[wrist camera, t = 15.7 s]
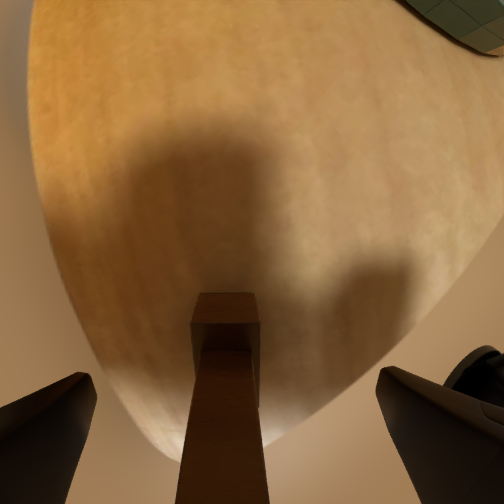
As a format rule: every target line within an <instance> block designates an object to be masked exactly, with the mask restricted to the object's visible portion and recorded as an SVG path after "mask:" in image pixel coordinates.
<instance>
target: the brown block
mask: <svg viewBox="0 0 504 504" xmlns="http://www.w3.org/2000/svg"><path fill="white" fill-rule="evenodd" d="M190 329H191V340H192V351H193V360H194V370H195V378H196V379H195V384H194V389H193V395H192V400H191V406H190V412H189V417H188V423H187V429H186V435H185V441H184V447H183V453H182V459H181V466H180V473H179V479H178V486H177V493H176V499H175V504H270V502H269V494H268V486H267V478H266V470H265V461H264V453H263V445H262V437H261V428H260V420H259V411H258V408H259V384H260V317H259V312H258V307H257V302H256V297H255V293H200V294H199V297H198V300H197V303H196V306H195V309H194V312H193V315H192V318H191V321H190Z"/></svg>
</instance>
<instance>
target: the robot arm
mask: <svg viewBox="0 0 504 504" xmlns="http://www.w3.org/2000/svg"><path fill="white" fill-rule="evenodd" d="M376 397H377V399H378V402H379V405H380V408H381V411H382V414H383V416H384V420H385V422H386V426H387V428H388V431H389V433H390V436H391V438H392V439H393V442H394V444H395V446H396V448H397V450H398V453H399V455H400V457H401V459H402V461H403V463H404V466H405V468H406V470H407V472H408V474H409V476H410V479H411V481H412V483H413V485H414V487H415V490H416V492H417V494H418V497H419V499H420V501H421V504H504V353H502V354H500V355H497V356H495V357H492V358H490V359H487V360H484V361H481V362H479V363H476V364H473V365H470V366H467V367H466V368H465V369H464V370H463V372H462V374H461V377H460V379H459V382H458V385H457V387H456V390H455V391H454V390H452V389H449V388H447V387H444V386H441V385H439V384H436V383H434V382H431V381H429V380H426V379H424V378H422V377H419V376H417V375H414V374H412V373H409V372H407V371H405V370H402V369H400V368H397V367H395V366H389V367H384V368H382V369H381V370H380V373H379V378H378V382H377V385H376ZM96 402H97V393H96V390H95V387H94V384H93V381H92V378H91V376H90V375H89V374H88V373H83V372H76V373H74V374H72V375H70V376H68V377H66V378H64V379H61V380H59V381H57V382H55V383H53V384H51V385H49V386H47V387H45V388H42V389H40V390H38V391H36V392H34V393H32V394H30V395H27V396H25V397H23V398H21V399H18V400H16V401H14V402H12V403H10V404H7V405H5V406H3V407H1V408H0V504H65V501H66V498H67V495H68V492H69V488H70V485H71V482H72V479H73V476H74V473H75V470H76V467H77V465H78V462H79V459H80V456H81V453H82V450H83V448H84V445H85V442H86V439H87V436H88V433H89V429H90V425H91V421H92V417H93V413H94V409H95V406H96Z"/></svg>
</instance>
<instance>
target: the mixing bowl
mask: <svg viewBox="0 0 504 504" xmlns="http://www.w3.org/2000/svg"><path fill="white" fill-rule="evenodd" d="M405 1H406V2H408V3H409V4H410V5H411V6H412V7H414V8H415V9H416V10H417V11H418V12H419V13H421V14H422V15H423V16H424V17H425V18H427V19H428V20H430V21H431V22H433V23H434V24H436V25H437V26H439V27H440V28H442V29H443V30H444V31H446V32H447V33H448V34H450V35H451V36H452V37H454V38H455V39H457V40H459V41H461V42H463V43H465V44H467V45H469V46H470V47H472V48H474V49H476V50H478V51H480V52H482V53H486V54H492V55H498V56H504V0H405Z"/></svg>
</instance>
